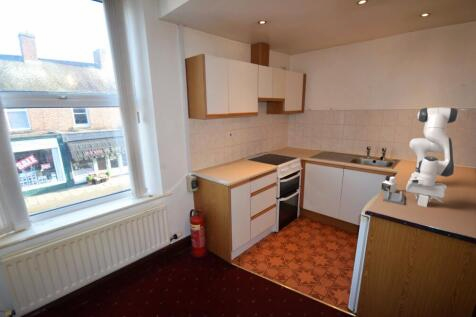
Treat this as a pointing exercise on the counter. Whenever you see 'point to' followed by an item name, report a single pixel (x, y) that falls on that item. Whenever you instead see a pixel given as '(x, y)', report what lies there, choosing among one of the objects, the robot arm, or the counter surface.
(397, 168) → the counter surface
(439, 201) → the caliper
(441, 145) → the robot arm
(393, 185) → the medicine bottle
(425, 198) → the din module
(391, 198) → the rail base
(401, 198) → the din rail
